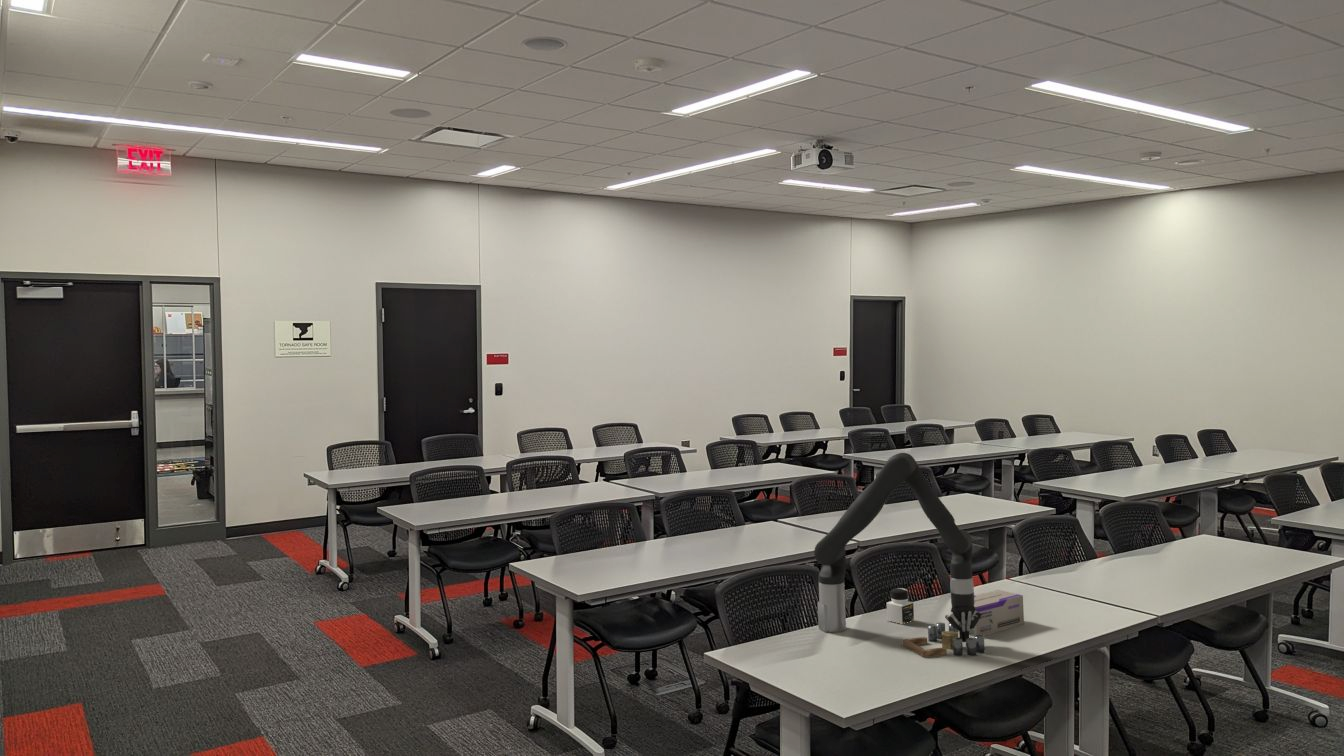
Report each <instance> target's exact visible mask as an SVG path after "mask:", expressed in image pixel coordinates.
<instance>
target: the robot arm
mask: <svg viewBox="0 0 1344 756" xmlns="http://www.w3.org/2000/svg"><path fill="white" fill-rule="evenodd" d="M903 482H905V484H906V485H907V486H908V487H909V488H910V489H911V490H912V492H913V494H914V495H915V496H916V499H917V501H918V503H919V505H920V508H921V509H922V511H923V513H924V514H925V516H926V517H927V519H928V520H929V521H930V523H932V525H933V526H934V528H935V529H936V530H937V532H938V533H939V536H940V537H941V539H942V541H943V542H944V544H945V546H946V548H948V550H950V551H951V561H950V564H949V565H950V567H949V569H950V570H949V571H950V583H949V584H950V585H949V586H950V587H949V588H950V590H949V591H950V602H951V607H950V613H949V614H945V615H944V617H945V620H947V622H948V624H949V623H950V624H951V625H952V626H953V628H955V629H957V630H959V632H958V636H959V638H961V639H962V643H966V638H970V635H969V630H970V629H974V627H975V626H976V624H977V622H978V621H979V619H980V617H981V615H982V614H981V613H979V612H977V611H976V610H975V607H974V595H975V587H974V586H975V585H974V581H973V578H974V577H973V566H972V559H973V539H972V536H971V534H970V533H969V532H968V531H966V530H963V529H962V530H961V529H960V528H959V527H958V526H957V524H956V521H955V518H954V516H953V514H952V513H951V512H950V511H949V509H948V508H947V506H946V505H945V504H944V503H943V501H942V500H941V499H940V498H939V496H938V495H937V493H936V492H935V491H934V489H933V488H932V486H931V485H930V484H929V482H928V481H927V479H926V477H925V476H924V474H923V472H922V470H921V468H920V467H919V465H918V463H917V461H916V459H915V458H914V456H912V455H911V454H910V453H907V452H899V453H896V454H893V455H891V456H890V457H889V458H888V459H887V460H886V461H885V463H884V465H883V466H882V468H881V470H880V471H879V473H878V474H877V476H876V477H875V478H874V479H873V481H872V482H871V483H870V484H868V486H867V487H866V488H865V489H864V490H863V491H862V492H861V493H860V494H859V495H858V496H857V497H856V498H855V499H854V500H853V501H852V503H851V504H850V505H849V507H848V508H847V510H845V511H844V513H843V514H842V516H841V517H840V518H839V520H838V521H837V523H836V524H835V525H834V526H833V528H831V530H830V531H829V532H828V533H827V534H826V535H824V537H823V538H821V539H820V540H819V541H818V542H817V543H816V545H815V547H814V549H813V552H814V553H813V554H814V559H815V560H816V562H817V563H818V564H820V565H821V568H820V571H819V574H818V592H819V593H818V598H819V601H817V619H818V620H817V623H818V629H820V630H821V629H822V631H823V632H824V633H827V632H828V631H829V633H839V631H840V632H843V631H846V630H847V621H846V619H847V618H846V615H847V614H846V597H845V591H846V590H845V576H846V571H847V570H846V569H847V567H846V566H847V561H846V560H847V557H846V554H847V553H846V546H847V544H848V543H850V542H851V541H852V539H854V538H855V537H857V536H858V535H859V534H860V533H862V532H863V531H864V530H865V529H866V528H867V527H868V526H869V525H870V524H871V523H872V522H873V521H874V520H875V518H877V516H878V515H879V514H880V512H881V510H882V509H883V507H884V506H885V504H886V501H887V500H888V498H889V497H890V495H891V494H892V493H893V492H894V491H895V490H896V489H897V488H898V487H899V486H900V485H901V484H902V483H903ZM954 617H955V618H956V619H957V623H958V624H957V623H956V622H955V620H954Z"/></svg>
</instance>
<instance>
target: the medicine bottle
mask: <svg viewBox="0 0 1344 756" xmlns="http://www.w3.org/2000/svg"><path fill="white" fill-rule="evenodd" d="M890 593H891V601H888V602H886V621H887V622H888V621H892V622H897V623H900V624H899V625H901V624H904V623H907V622H910V621H913V620H914V621H915V615H914V614H915V613H914V612H915V609H914V602H913V601H909V590H908V589H905V588H902V587H898V588H897V587H896V588H893V589H891V591H890ZM914 621H913V622H914ZM892 622H891V623H892ZM897 623H896V624H897ZM910 623H911V622H910ZM907 624H908V623H907ZM904 625H905V624H904Z"/></svg>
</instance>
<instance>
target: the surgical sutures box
mask: <svg viewBox="0 0 1344 756" xmlns="http://www.w3.org/2000/svg"><path fill="white" fill-rule="evenodd" d="M974 607H975V610H976V611H977V612H979V613H981V614H982V615H981V617H980V619H979V621H978V622H977V624H976V626H975V627H974V629H970V630H969V636H972V637H975V636H976V635H982V636H985V635H990V634H993V633H997V632H1001V631H1004V630H1009V629H1012V628H1015V627H1018V626H1023V625H1025V615H1024V594H1019V593H1015V592H1009V591H1005V590H1001V589H996V590H992V591H988V592H987V591H986V592H983V593H979V594H974ZM954 620H955V622H956V623H957V619H956V618H955V617H954ZM957 624H958V623H957ZM958 633H959V630H958Z"/></svg>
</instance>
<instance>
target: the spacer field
mask: <svg viewBox="0 0 1344 756" xmlns="http://www.w3.org/2000/svg"><path fill="white" fill-rule="evenodd" d="M944 631H946V624H945V622H936V623H935V624H927V633H928V634H927V642H930V643H935V642H938V640H942V632H944ZM948 631H953V632H958V630H957V629H955V628H953V626H952V625H951V624H950V623H949V622H948ZM958 633H959V632H958ZM963 643H964V642H962V639H961V638H960V637H958V638H953V649H952V655H953V656H957V657H961V656H963V655H964V649H963V648H964V647H963V646H964V645H963ZM965 643H966V655H967V656H970V657H975V656H977V654H984V653H985V651H986V648H985V635H983V636H982V635H976V636H974V637H969V638H966V642H965Z"/></svg>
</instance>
